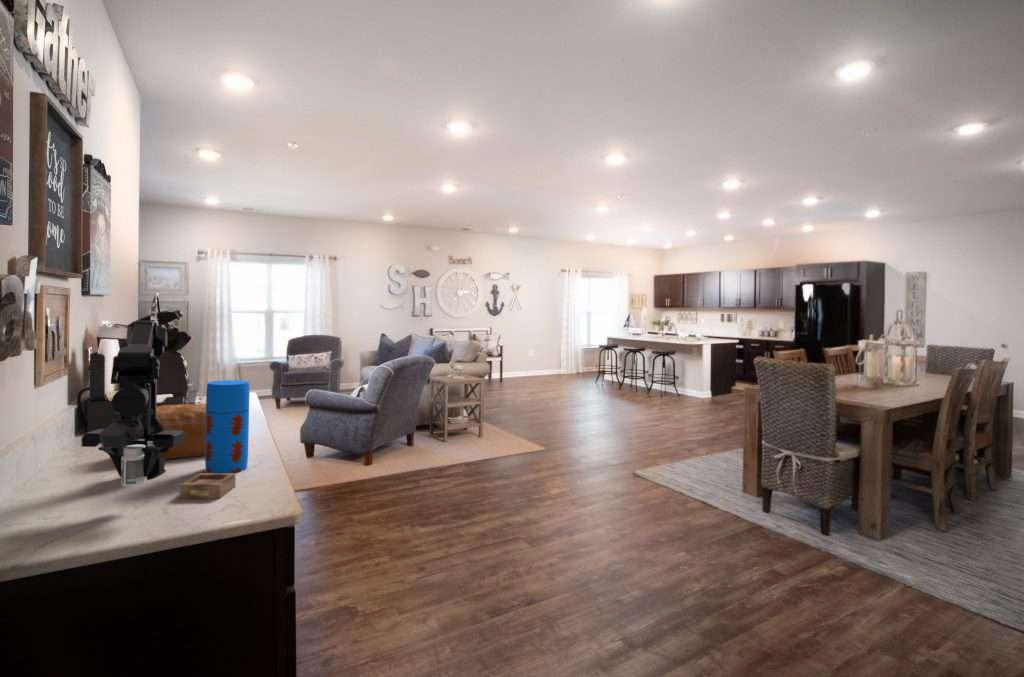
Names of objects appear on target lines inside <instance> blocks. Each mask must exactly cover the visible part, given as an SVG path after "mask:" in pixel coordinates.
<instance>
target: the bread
mask: <svg viewBox="0 0 1024 677" xmlns="http://www.w3.org/2000/svg"><path fill="white" fill-rule="evenodd" d="M156 415H157V416H158V417H159V419H160V420H161V421H162V423H163V431H164V430H182V431H183V432H184V434H185V442H183V443H181V444H178V445H176V446H174V447H170V448H169V451H167V452H165V453H163V457H164V461H167V460H172V459H174V460H175V459H184V458H185V459H186V458H190V457H191V458H195V457H203V456H204V457H205V441H206V403H197V404H196V403H188V404H187V403H185V404H184V403H183V404H182V403H181V404H180V403H179V404H166V405H158V406H157V407H156Z"/></svg>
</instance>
